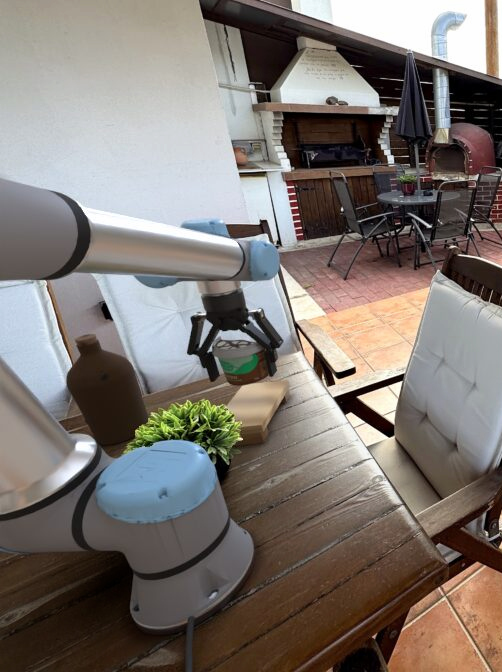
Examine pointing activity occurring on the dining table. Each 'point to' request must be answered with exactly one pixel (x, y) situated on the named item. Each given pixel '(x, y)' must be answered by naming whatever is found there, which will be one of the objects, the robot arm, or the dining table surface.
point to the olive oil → (106, 392)
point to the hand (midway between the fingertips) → (244, 376)
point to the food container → (241, 361)
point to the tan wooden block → (257, 408)
